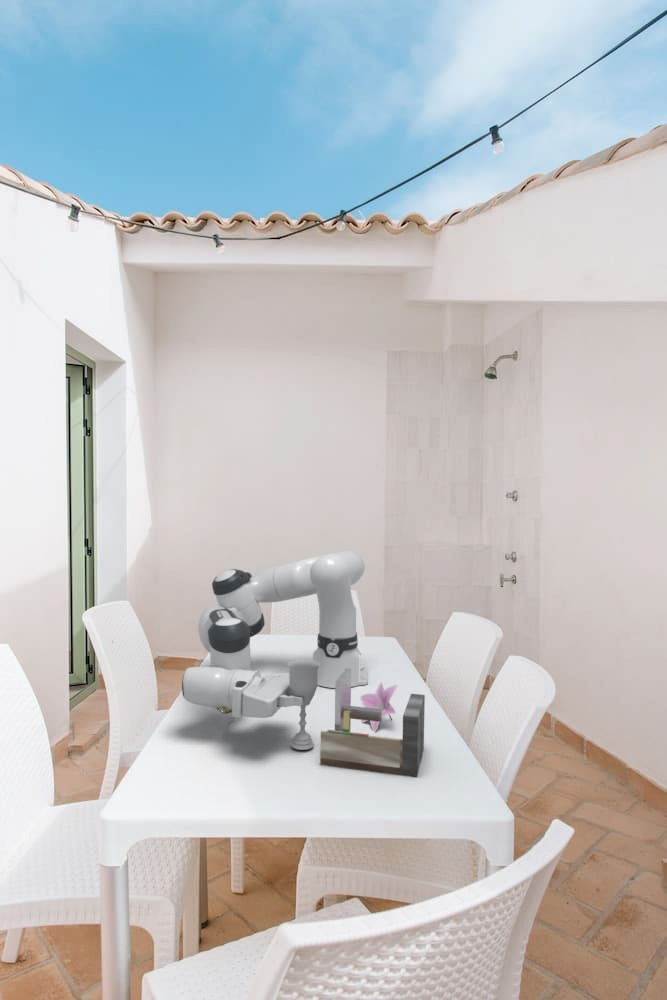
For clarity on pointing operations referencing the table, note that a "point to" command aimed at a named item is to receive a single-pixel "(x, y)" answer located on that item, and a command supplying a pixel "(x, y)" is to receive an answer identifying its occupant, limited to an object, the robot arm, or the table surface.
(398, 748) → the wooden book stand
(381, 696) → the lily
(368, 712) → the grey metal angled plate
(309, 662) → the chalice
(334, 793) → the table surface
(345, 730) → the drag pointer
